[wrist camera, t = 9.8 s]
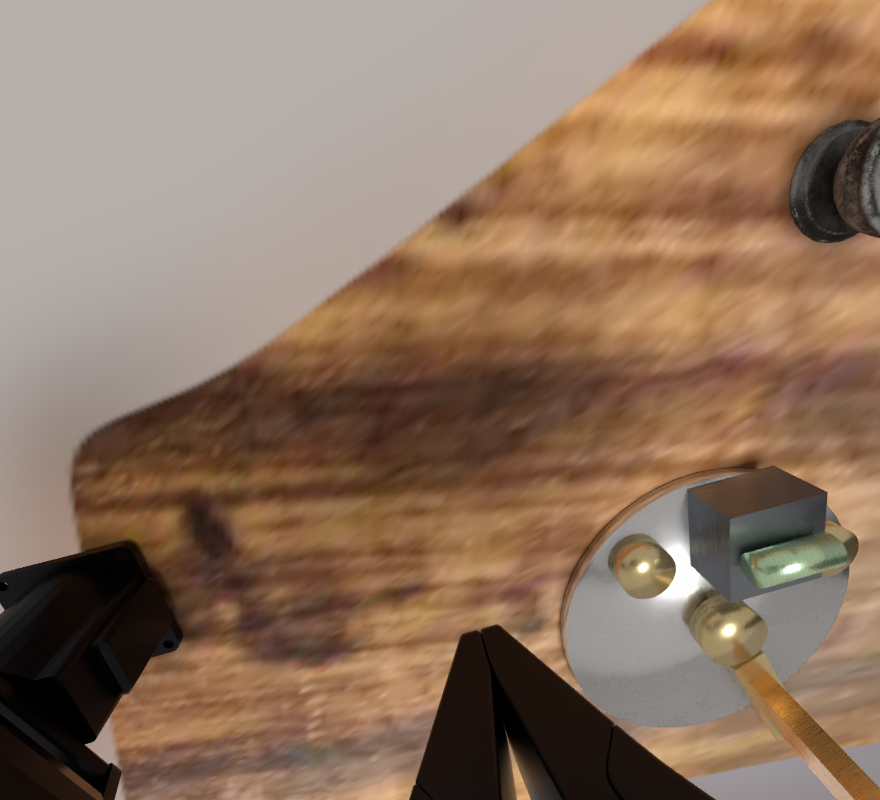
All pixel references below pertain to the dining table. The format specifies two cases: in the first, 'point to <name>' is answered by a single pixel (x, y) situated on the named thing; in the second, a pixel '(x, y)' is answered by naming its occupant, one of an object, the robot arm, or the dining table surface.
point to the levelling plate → (702, 590)
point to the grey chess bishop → (839, 183)
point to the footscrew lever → (774, 694)
